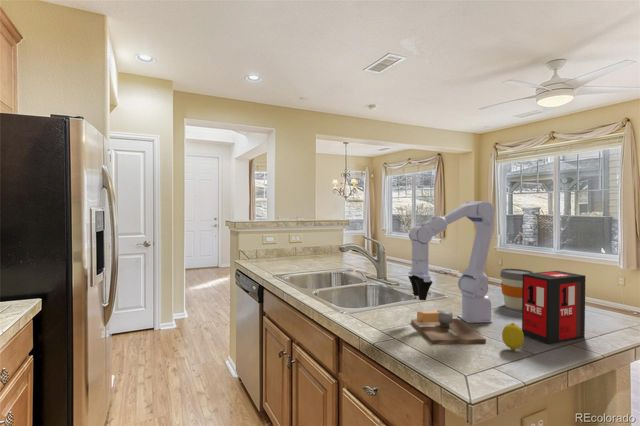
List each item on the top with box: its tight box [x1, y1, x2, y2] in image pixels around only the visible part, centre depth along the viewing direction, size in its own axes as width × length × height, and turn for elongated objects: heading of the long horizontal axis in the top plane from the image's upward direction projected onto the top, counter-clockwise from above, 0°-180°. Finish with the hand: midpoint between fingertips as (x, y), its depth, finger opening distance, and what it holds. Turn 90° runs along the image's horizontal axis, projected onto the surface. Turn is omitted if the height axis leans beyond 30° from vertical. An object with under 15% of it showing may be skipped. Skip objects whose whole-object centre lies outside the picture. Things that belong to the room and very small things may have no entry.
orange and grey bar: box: [416, 309, 454, 324], centre depth 114 cm, size 12×5×3 cm, turn 93°
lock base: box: [410, 318, 487, 345], centre depth 112 cm, size 17×19×3 cm
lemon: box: [501, 322, 525, 351], centre depth 98 cm, size 6×6×8 cm
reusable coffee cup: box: [499, 268, 535, 311], centre depth 142 cm, size 12×13×15 cm
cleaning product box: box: [521, 270, 586, 346], centre depth 109 cm, size 16×9×20 cm, turn 110°
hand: (419, 297), depth 120 cm, fingers open, 5 cm apart
